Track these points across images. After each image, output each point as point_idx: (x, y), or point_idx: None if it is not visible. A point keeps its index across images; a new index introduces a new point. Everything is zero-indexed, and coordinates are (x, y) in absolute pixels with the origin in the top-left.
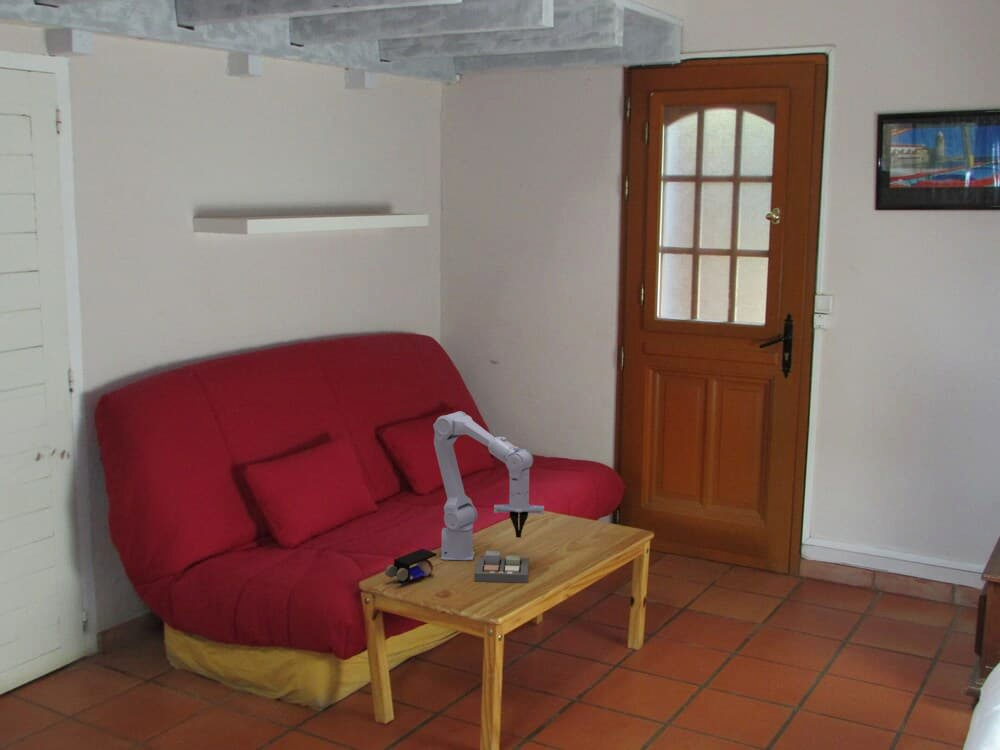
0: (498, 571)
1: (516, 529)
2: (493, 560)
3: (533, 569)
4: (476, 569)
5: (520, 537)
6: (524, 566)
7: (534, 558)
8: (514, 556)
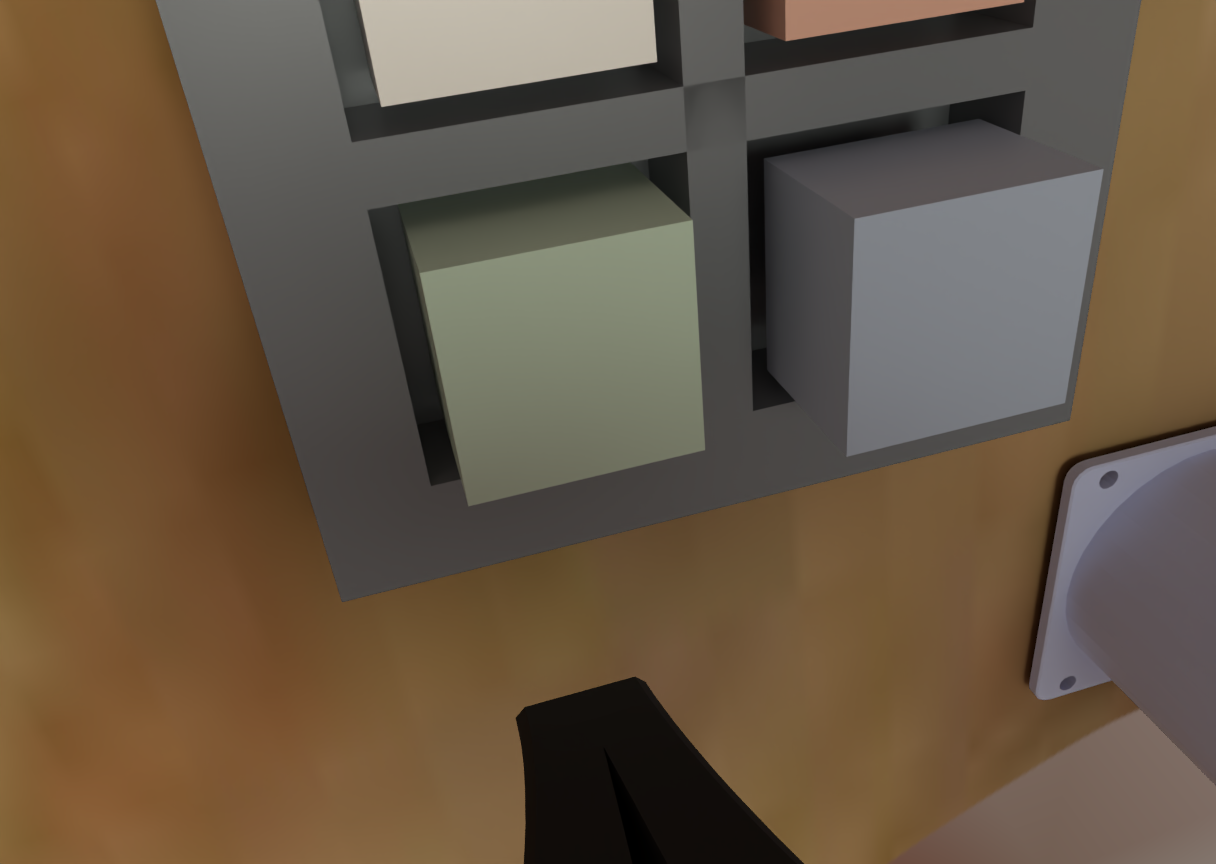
0: None
1: (724, 849)
2: (903, 168)
3: (216, 417)
4: None
5: (527, 709)
6: (288, 175)
7: (345, 786)
8: (559, 427)
